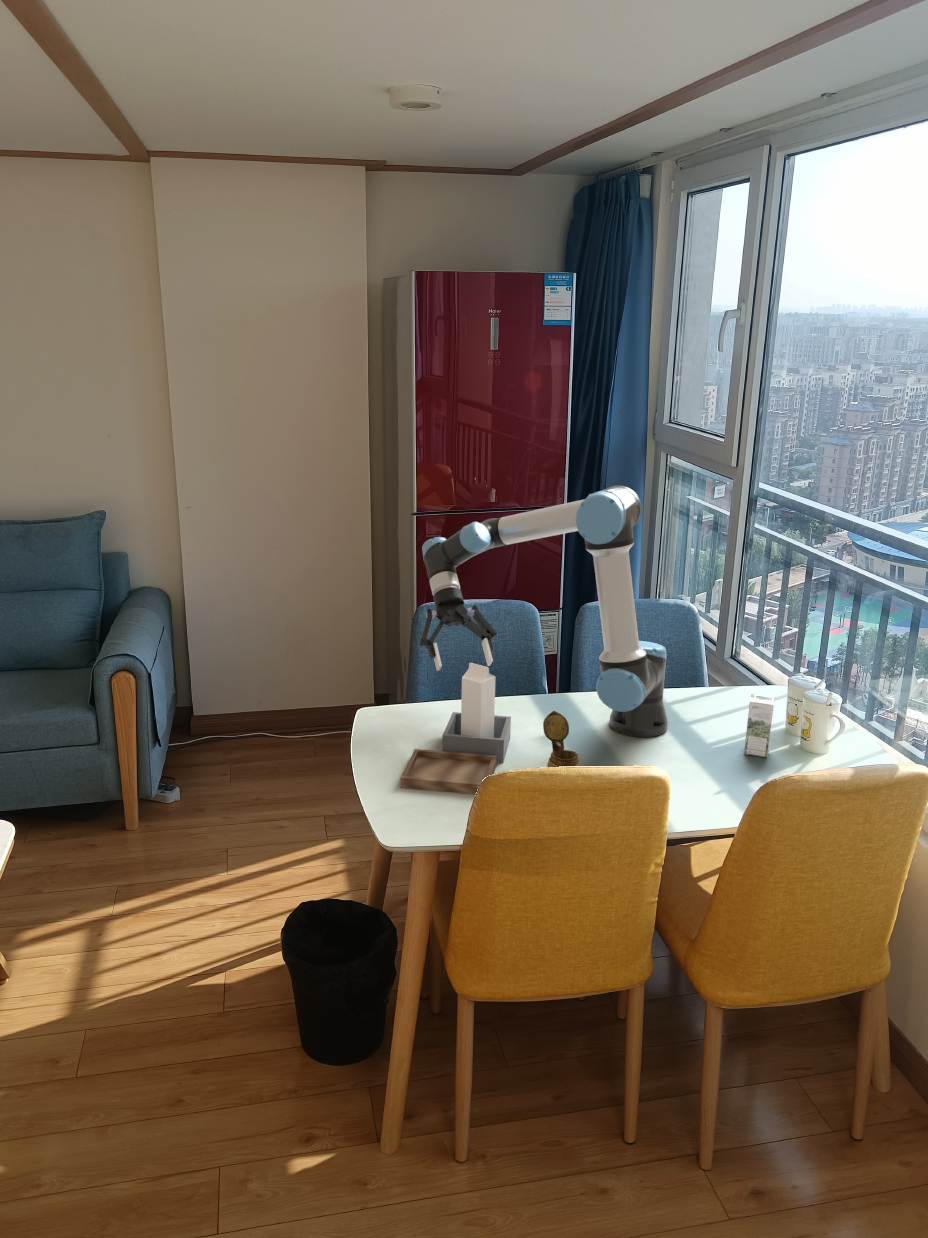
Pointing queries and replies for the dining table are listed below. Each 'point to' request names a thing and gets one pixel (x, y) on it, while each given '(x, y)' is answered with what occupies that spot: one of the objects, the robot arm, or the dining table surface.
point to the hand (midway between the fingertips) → (465, 666)
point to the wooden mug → (559, 741)
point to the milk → (478, 702)
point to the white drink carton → (759, 725)
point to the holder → (477, 738)
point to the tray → (447, 771)
